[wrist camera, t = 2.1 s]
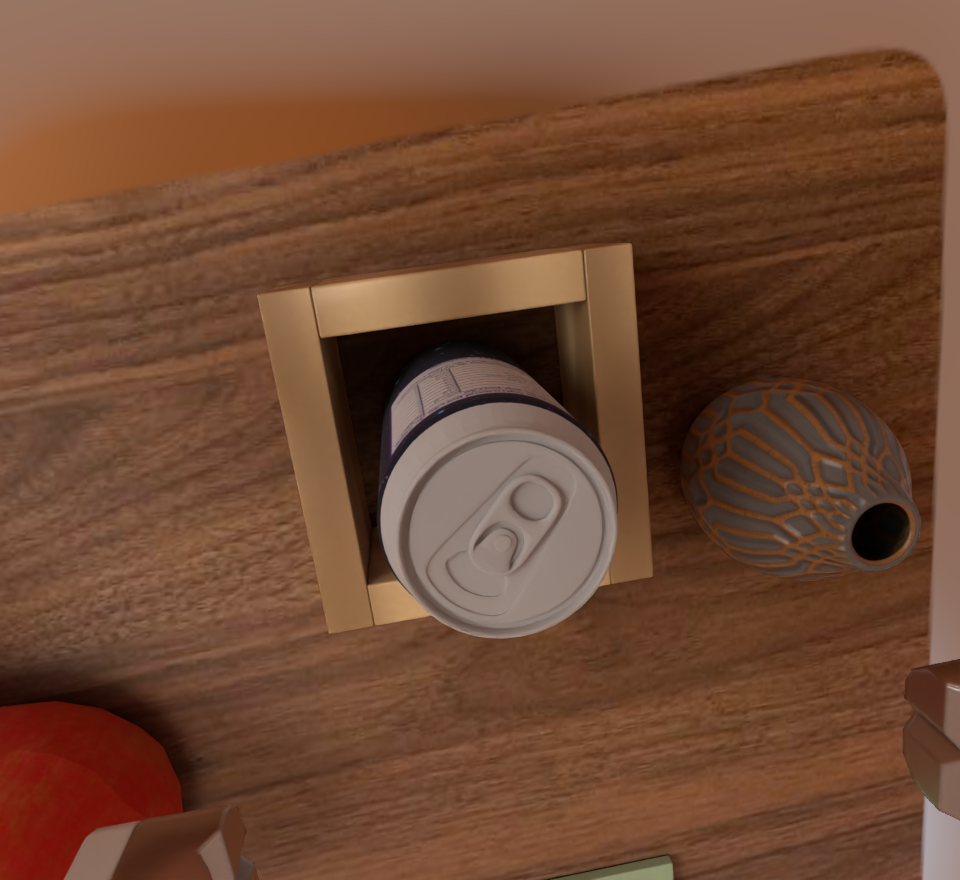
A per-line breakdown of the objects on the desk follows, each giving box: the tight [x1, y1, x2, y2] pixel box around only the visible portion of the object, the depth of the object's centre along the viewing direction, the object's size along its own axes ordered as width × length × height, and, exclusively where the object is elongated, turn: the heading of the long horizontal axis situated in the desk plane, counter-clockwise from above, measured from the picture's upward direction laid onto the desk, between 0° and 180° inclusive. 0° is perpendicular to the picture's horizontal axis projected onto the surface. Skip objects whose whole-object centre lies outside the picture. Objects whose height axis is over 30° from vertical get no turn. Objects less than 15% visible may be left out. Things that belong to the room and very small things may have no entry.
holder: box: [257, 243, 653, 634], centre depth 24 cm, size 11×11×5 cm
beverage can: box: [377, 340, 618, 638], centre depth 21 cm, size 6×6×12 cm
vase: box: [680, 377, 921, 582], centre depth 24 cm, size 7×7×9 cm
